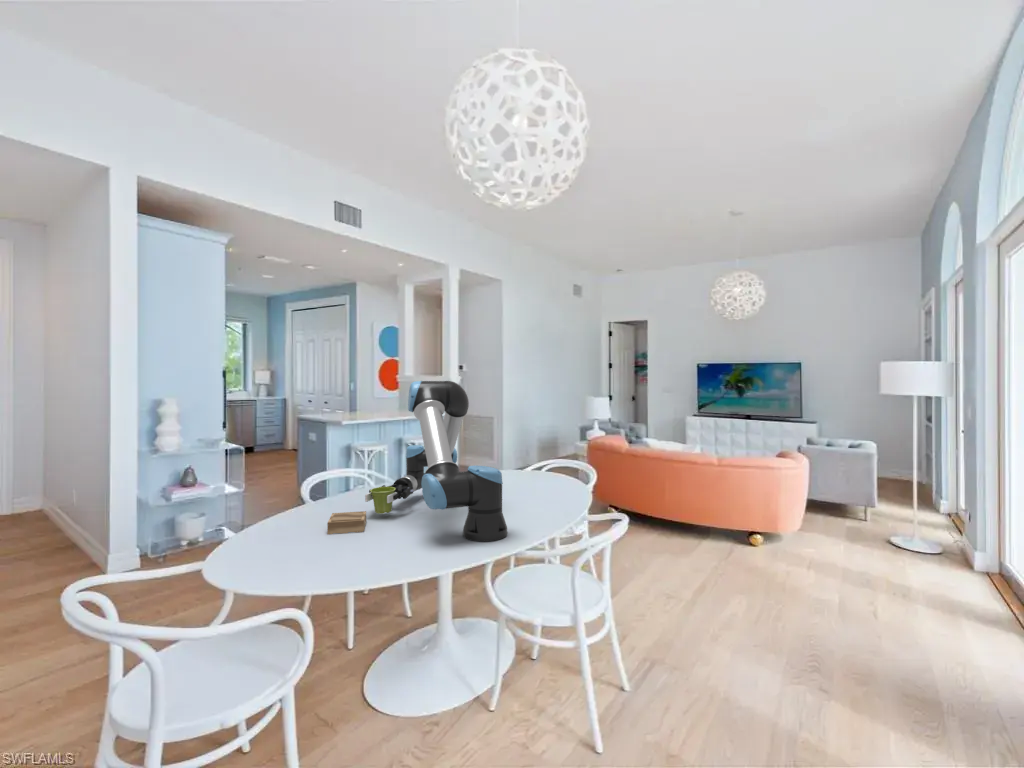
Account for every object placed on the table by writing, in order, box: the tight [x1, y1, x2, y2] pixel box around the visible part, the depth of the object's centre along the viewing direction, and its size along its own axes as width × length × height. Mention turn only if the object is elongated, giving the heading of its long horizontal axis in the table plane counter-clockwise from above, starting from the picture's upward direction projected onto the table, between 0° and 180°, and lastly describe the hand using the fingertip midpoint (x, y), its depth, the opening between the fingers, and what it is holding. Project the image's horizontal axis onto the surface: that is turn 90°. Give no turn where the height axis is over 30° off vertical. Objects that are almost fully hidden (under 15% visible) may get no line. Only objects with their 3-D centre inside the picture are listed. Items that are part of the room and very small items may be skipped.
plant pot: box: [369, 486, 396, 514], centre depth 193 cm, size 9×9×9 cm
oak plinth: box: [326, 510, 367, 535], centre depth 180 cm, size 12×12×4 cm
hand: (377, 498), depth 189 cm, fingers closed on plant pot, 8 cm apart
